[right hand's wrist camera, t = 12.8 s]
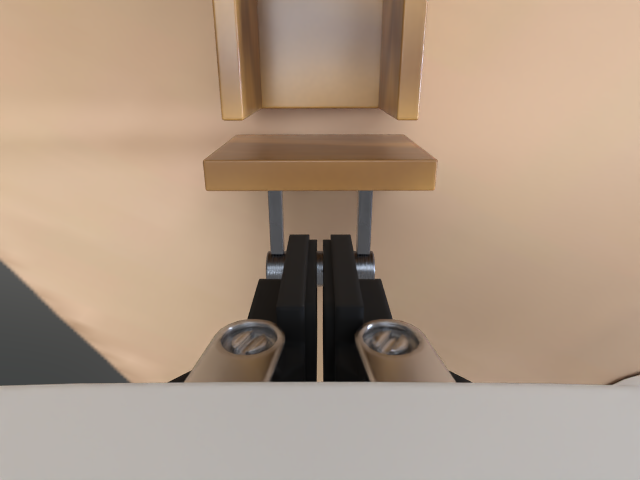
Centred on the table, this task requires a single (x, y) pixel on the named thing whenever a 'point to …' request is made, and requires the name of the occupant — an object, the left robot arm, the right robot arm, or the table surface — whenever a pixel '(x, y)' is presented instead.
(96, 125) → the table surface
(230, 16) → the drawer
